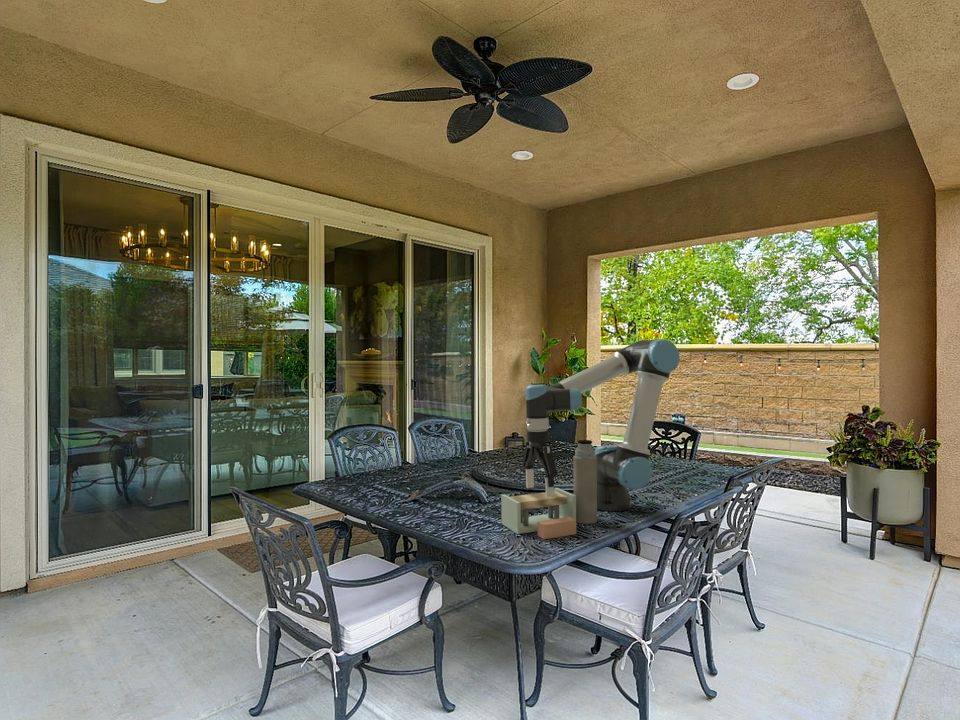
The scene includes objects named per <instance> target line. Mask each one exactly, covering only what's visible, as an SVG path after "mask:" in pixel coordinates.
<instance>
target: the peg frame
mask: <svg viewBox="0 0 960 720" xmlns="http://www.w3.org/2000/svg"><path fill="white" fill-rule="evenodd" d="M554 491H556V492H558V493H560V494H563V495H565V496H567V504H561V505H554V506H547V513H546V514H540V515H532V516H529V509H525V510H521V503H520V502H518V501H516V500H514V499H512V498H510V497H511V496H509V495H507V494H505V493H504V494H501V495H500V496H501V498H500V499H501V500H500V501H501V509H500V510H501V524H502V525H503V526H504V527H506V528H507V529H509V530H511V531H512V532H513V533H515V534H517V535H520V534H527V533H532V532H538V521H545V520H552V519H558V518H565V517H571V518H573V519H575V520H576V495H574V493H571V492H569V491H566V490H563V489H561V488H559V487H554Z"/></svg>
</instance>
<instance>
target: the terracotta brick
mask: <svg viewBox="0 0 960 720" xmlns="http://www.w3.org/2000/svg"><path fill="white" fill-rule="evenodd" d="M572 535H577V522H576V520H575V519H573V518H571V517H565V518H558V519H552V520H545V521H538V531H537V536H538V537H539V538H540V539H543V540H548V539H556V538H561V537H566V536H567V537H568V536H572Z"/></svg>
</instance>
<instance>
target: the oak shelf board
mask: <svg viewBox="0 0 960 720" xmlns="http://www.w3.org/2000/svg"><path fill="white" fill-rule="evenodd" d="M509 497H510V498H512V499H514V500H516V501H518V502H520V503H521V510H525V509H528V510H531V509H539V508H546V507H547V508H548V506H553V507H554V505H561V504H567V496H565V495H563V494H560V493H558V492H556V491H555V490H554V496H551V497H546V491H545V492H537V493H529V494H521V495H512V496H509Z"/></svg>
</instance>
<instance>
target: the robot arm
mask: <svg viewBox="0 0 960 720" xmlns="http://www.w3.org/2000/svg"><path fill="white" fill-rule="evenodd" d="M612 354H613V355H612V356H611V357H609V358H606V359H605V360H602V361H600V362H598V363H596V364H594V365H592V366H589V367H588V368H585V369H583V370H581V371H580V372H577V373H575V374H573V375H571V376H569V377H566V378H564V379H562V380H560V381H559V382H556V383H554V384H551V385H550V386H548V385H546V384H528V385H527V386H526V388H525V410H526V412H525V413H526V422H525V424H526V429H527V431H526V440H527V441H525V449H524V453H523V457H522V463H521V466H522V467H524V469H525V485H526V486H525V488H527V489H532V488H535V475H534V464H535V461H536V459H538V461H540V463H541V465H542V468H543V471H544V472H545V477H544V479H545V480H544V481H545V482H544V483H545V485H544V486H545V492H546V497H551V496H554V491H555V489H554V488H555V487H554V486H555V481H554V479H555V478H554V477H557V476H558V470H557V466H556V462H555V459H554V456H553V449H552V446H551V445H550V446H547V443H549V441H550V431H549V430H548V429H550V424H549V423H550V422H549V413H553V412H564V411H565V412H567V411H568V412H572V411H577V410H580V409H581V407H582V404H583V398H582V397H583V396H582V394H584V393H585V392H587V391H590V390H592V389H594V388H596V387H598V386H600V385H603V384H604V383H607V382H608V381H611V380H613V379H615V378H617V377H619V376H621V375H623V376H626V375H629V374H632V373H635V374H636V376H637V377H638V380H637V384H636V388H635V393H634V397H633V400H632V403H631V407H630V412H629V413H630V414H629V417H628V420H627V426H626V428H625V429H626V430H625V433H624V438H623V440H622V442H621V443H619V444H615V445H613V444H612V445H609V444H608V445H600V446H599V445H598V446H596V447H595V449H594V452H595V453H594V455H595V456H596V457H597V510H601V511H609V512H610V511H611V512H620V511H621V512H622V511H623V512H624V511H628V510H630V509H631V508H632V500H631V497H630V493H629V491H628V489H632V490H638V489H642V488H643V487H645V486H647V485H648V484H649V482H650V481H651V480H652V476H653V472H654V471H653V466H652V463H651V462H650V458H651V452H650V451H649V449H648V447H649V443H650V439H651V434H652V431H653V428H654V427H653V426H654V422H655V418H656V414H657V410H658V405H659V401H660V399H661V397H660V396H661V393H662V388H663V384H664V383H665V382H668V381H669V380H670V374H671V372H673V371H675V370H676V369H677V368H678V366H679V364H680V359H681V357H680V351H679V349H678V347H677V345H675V343H673V342H672V341H670V340H668V339H662V338H661V339H660V338H655V339H642V340H638V341H635V342H633V343H631V344H629V345H627V346H625V347H623V348H621V349H619V350H617V351H614V352H613V353H612Z"/></svg>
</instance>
